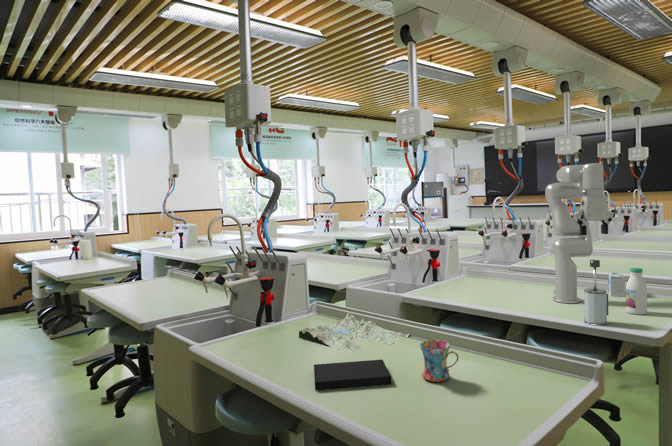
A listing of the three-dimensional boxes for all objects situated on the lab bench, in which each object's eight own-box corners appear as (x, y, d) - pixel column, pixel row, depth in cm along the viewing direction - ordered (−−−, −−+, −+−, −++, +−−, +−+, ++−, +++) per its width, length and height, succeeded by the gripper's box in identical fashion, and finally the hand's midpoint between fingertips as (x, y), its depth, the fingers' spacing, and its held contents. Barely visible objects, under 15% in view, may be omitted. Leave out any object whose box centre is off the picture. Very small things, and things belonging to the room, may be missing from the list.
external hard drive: (391, 385, 133) (390, 376, 133) (315, 391, 131) (314, 382, 131) (382, 367, 147) (382, 359, 147) (314, 373, 145) (313, 364, 145)
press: (579, 320, 187) (579, 288, 186) (599, 318, 188) (599, 287, 187) (593, 326, 178) (593, 293, 178) (614, 324, 180) (614, 291, 179)
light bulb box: (607, 292, 234) (607, 272, 234) (622, 292, 231) (622, 272, 231) (610, 296, 225) (610, 275, 224) (625, 297, 222) (625, 276, 221)
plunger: (584, 295, 185) (583, 259, 184) (596, 294, 185) (596, 259, 185) (593, 298, 179) (593, 261, 178) (606, 297, 180) (605, 260, 179)
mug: (416, 380, 135) (414, 346, 134) (427, 370, 143) (426, 338, 142) (454, 388, 128) (452, 353, 128) (463, 376, 136) (462, 343, 135)
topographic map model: (411, 337, 177) (410, 325, 177) (363, 358, 157) (362, 345, 156) (347, 322, 203) (347, 312, 202) (298, 339, 182) (298, 327, 182)
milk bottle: (643, 310, 196) (643, 266, 195) (649, 315, 189) (649, 269, 188) (623, 310, 199) (623, 266, 198) (629, 314, 192) (628, 269, 191)
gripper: (580, 193, 176) (581, 236, 177) (619, 192, 179) (619, 234, 179) (568, 194, 184) (568, 235, 184) (605, 192, 186) (606, 233, 187)
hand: (594, 234), depth 182 cm, fingers open, 9 cm apart
